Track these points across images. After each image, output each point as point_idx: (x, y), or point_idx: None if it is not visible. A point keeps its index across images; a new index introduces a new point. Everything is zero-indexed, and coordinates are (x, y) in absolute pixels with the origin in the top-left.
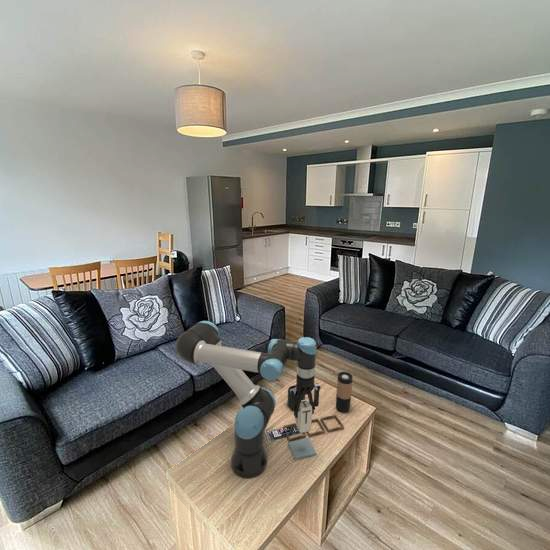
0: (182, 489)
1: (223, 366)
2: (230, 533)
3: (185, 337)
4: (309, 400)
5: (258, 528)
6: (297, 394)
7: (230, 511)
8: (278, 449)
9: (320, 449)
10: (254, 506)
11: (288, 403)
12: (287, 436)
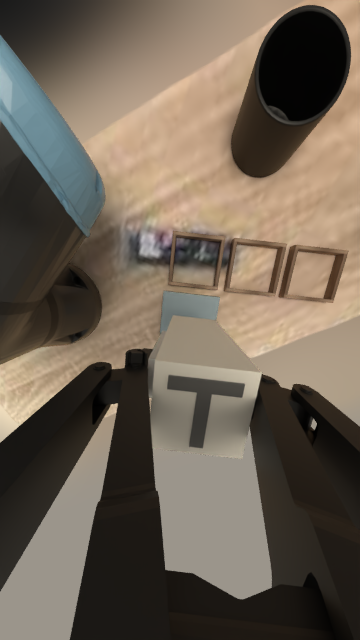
0: None
1: None
2: (14, 410)
3: None
4: (261, 431)
5: None
6: (99, 502)
7: (16, 382)
8: (136, 296)
9: (229, 333)
10: (56, 389)
11: (235, 130)
12: (169, 272)
